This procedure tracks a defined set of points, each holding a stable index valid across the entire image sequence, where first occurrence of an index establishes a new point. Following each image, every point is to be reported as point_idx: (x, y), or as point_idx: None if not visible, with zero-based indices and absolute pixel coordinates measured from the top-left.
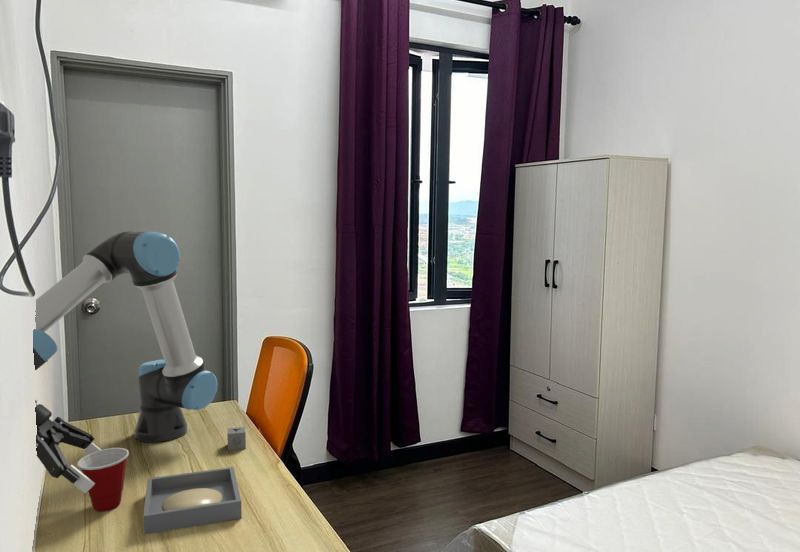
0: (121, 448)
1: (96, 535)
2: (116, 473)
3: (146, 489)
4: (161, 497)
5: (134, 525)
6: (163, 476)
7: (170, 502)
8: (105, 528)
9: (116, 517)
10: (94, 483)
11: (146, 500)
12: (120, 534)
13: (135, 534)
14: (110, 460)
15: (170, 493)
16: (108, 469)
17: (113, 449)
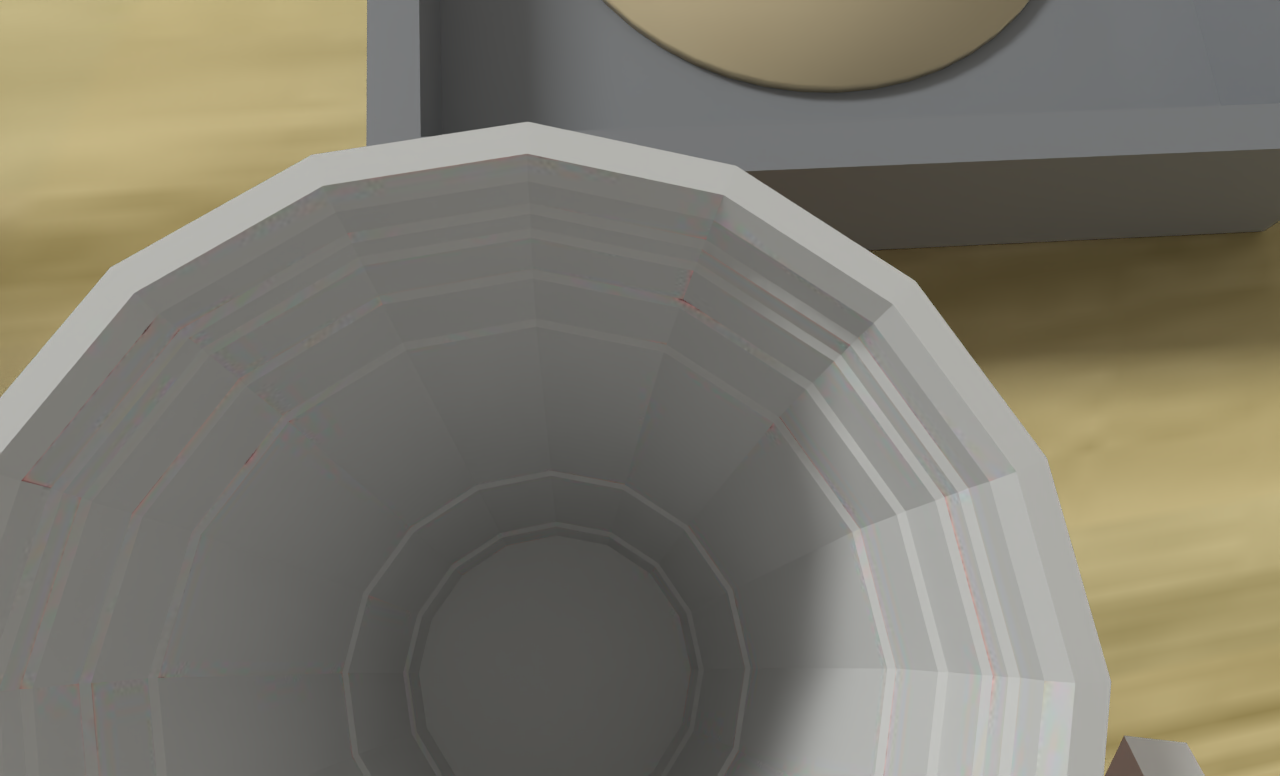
0: (89, 323)
1: (1229, 652)
2: (796, 426)
3: None
4: (628, 115)
5: (1078, 329)
6: (372, 21)
7: (801, 23)
8: (1096, 590)
9: None
10: (1148, 745)
11: (1016, 147)
12: (1236, 429)
13: (1251, 301)
14: (150, 624)
15: (555, 42)
16: (956, 515)
17: None
